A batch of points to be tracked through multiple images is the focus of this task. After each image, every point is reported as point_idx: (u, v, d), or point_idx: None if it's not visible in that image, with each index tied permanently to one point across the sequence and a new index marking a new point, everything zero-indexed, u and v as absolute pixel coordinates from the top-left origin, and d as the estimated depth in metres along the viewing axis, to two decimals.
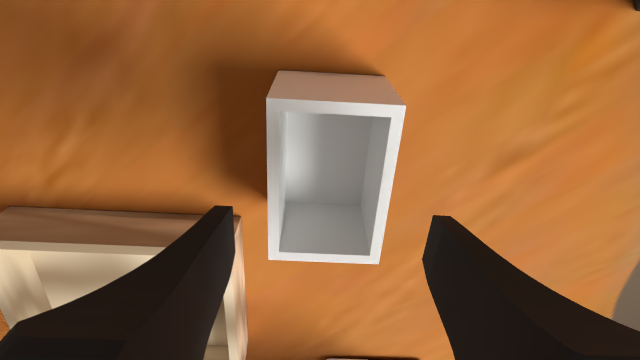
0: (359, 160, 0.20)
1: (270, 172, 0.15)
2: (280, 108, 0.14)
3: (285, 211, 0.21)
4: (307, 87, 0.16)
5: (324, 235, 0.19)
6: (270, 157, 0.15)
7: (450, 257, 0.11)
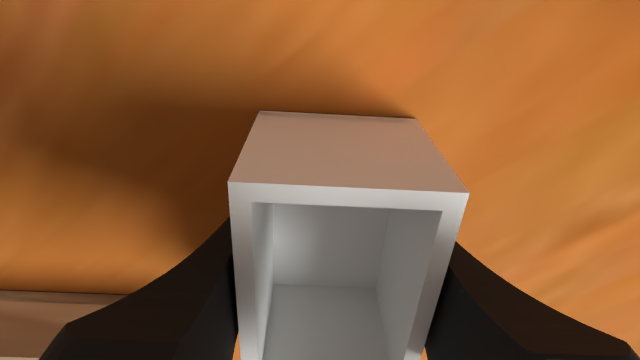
0: (376, 232, 0.14)
1: (240, 288, 0.10)
2: (253, 197, 0.08)
3: (272, 302, 0.15)
4: (300, 149, 0.10)
5: (327, 349, 0.13)
6: (239, 268, 0.09)
7: None
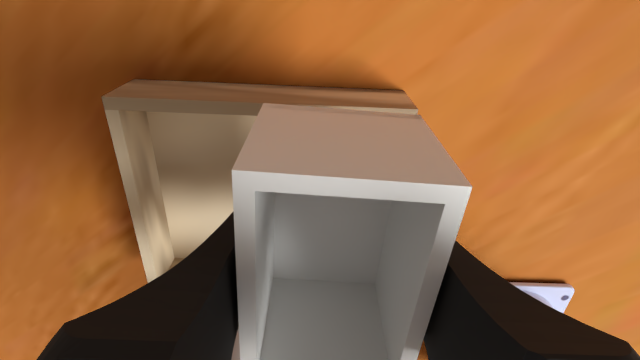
0: (376, 228, 0.14)
1: (241, 278, 0.10)
2: (256, 186, 0.08)
3: (271, 295, 0.15)
4: (304, 141, 0.10)
5: (325, 342, 0.13)
6: (241, 257, 0.09)
7: None
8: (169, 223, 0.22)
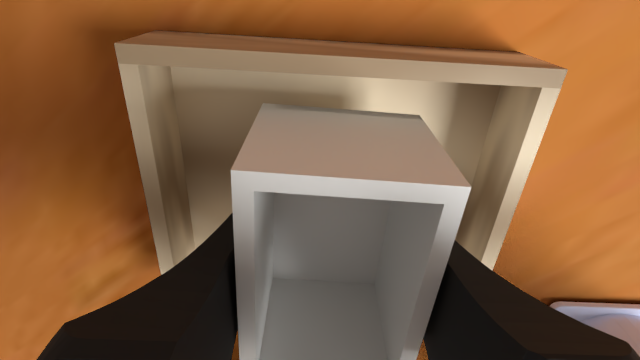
0: (376, 228, 0.14)
1: (240, 278, 0.10)
2: (255, 186, 0.08)
3: (270, 295, 0.15)
4: (303, 141, 0.10)
5: (324, 343, 0.13)
6: (240, 257, 0.09)
7: None
8: (194, 226, 0.17)
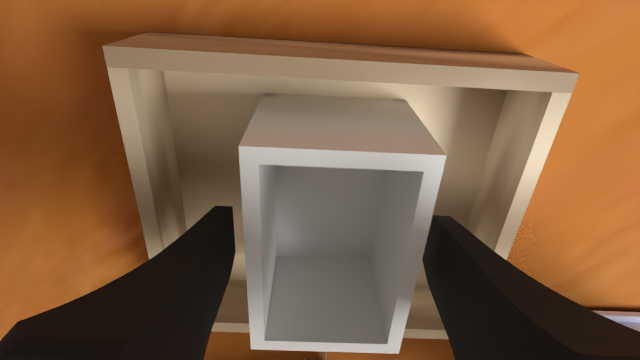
0: (370, 206, 0.16)
1: (249, 245, 0.11)
2: (260, 160, 0.10)
3: (275, 271, 0.16)
4: (301, 123, 0.11)
5: (325, 310, 0.14)
6: (248, 225, 0.11)
7: (450, 257, 0.11)
8: None
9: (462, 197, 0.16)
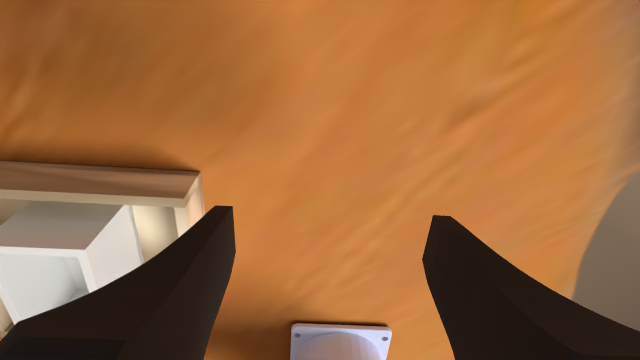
0: None
1: (0, 292, 0.20)
2: None
3: (68, 299, 0.25)
4: (32, 224, 0.20)
5: None
6: None
7: (450, 257, 0.11)
8: None
9: None
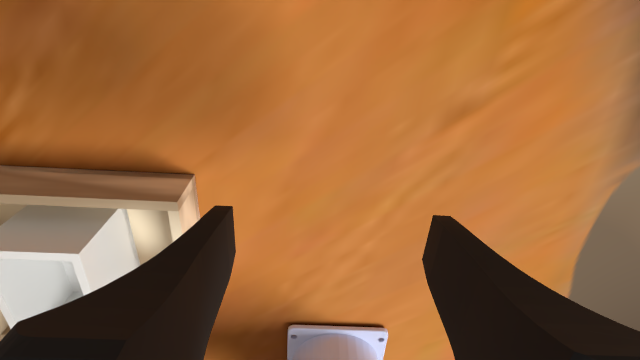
0: None
1: None
2: None
3: (64, 302, 0.25)
4: (27, 228, 0.20)
5: None
6: None
7: (450, 257, 0.11)
8: None
9: None
